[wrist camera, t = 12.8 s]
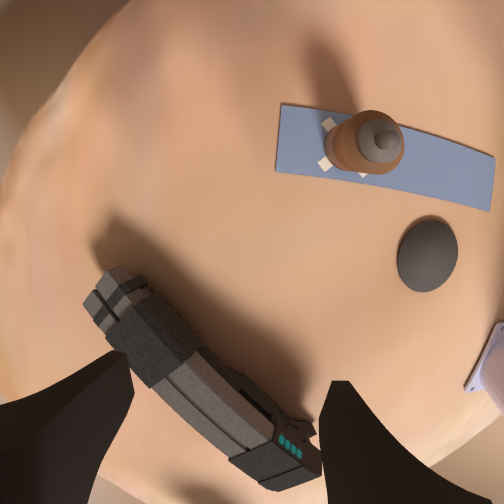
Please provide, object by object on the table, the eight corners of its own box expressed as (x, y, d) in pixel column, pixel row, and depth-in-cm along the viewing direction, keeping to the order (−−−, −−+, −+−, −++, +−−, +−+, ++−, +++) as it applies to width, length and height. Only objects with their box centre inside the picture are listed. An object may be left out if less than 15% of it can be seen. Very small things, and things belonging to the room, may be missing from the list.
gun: (292, 444, 23) (264, 520, 14) (159, 286, 26) (78, 305, 17) (331, 424, 22) (318, 505, 12) (189, 254, 25) (108, 262, 16)
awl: (370, 128, 15) (424, 111, 9) (367, 174, 16) (420, 182, 9) (325, 121, 15) (357, 96, 9) (322, 168, 16) (353, 171, 10)
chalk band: (494, 158, 15) (495, 158, 15) (488, 211, 16) (489, 211, 16) (281, 105, 15) (281, 105, 15) (275, 171, 17) (275, 171, 16)
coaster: (462, 226, 16) (464, 227, 16) (445, 292, 18) (447, 293, 18) (405, 215, 17) (407, 216, 16) (389, 288, 18) (390, 289, 18)
